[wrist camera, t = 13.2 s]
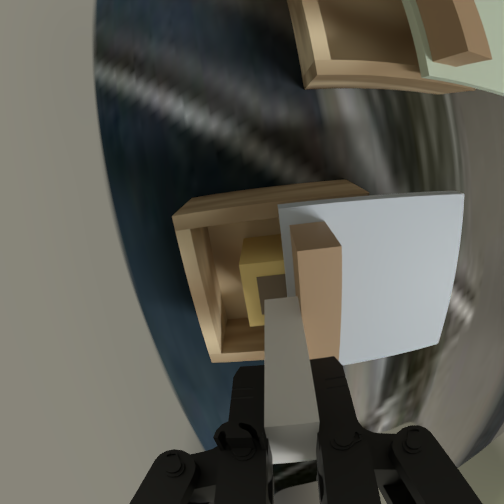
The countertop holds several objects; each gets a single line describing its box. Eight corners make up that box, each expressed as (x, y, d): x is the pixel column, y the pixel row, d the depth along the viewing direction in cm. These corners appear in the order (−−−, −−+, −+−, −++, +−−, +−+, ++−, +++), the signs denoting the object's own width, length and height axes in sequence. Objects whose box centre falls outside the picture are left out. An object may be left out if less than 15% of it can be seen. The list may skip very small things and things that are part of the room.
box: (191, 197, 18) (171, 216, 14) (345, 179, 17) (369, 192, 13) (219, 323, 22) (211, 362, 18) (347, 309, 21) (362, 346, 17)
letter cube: (243, 238, 18) (238, 265, 15) (305, 231, 18) (316, 256, 14) (252, 291, 20) (249, 327, 16) (309, 285, 20) (318, 319, 16)
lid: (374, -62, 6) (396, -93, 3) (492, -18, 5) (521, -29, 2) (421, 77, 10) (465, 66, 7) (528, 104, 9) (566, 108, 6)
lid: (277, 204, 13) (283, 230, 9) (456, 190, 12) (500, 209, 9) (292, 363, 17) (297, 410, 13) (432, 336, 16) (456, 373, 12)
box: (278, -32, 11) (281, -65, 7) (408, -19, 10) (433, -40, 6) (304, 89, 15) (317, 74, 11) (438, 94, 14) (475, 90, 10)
